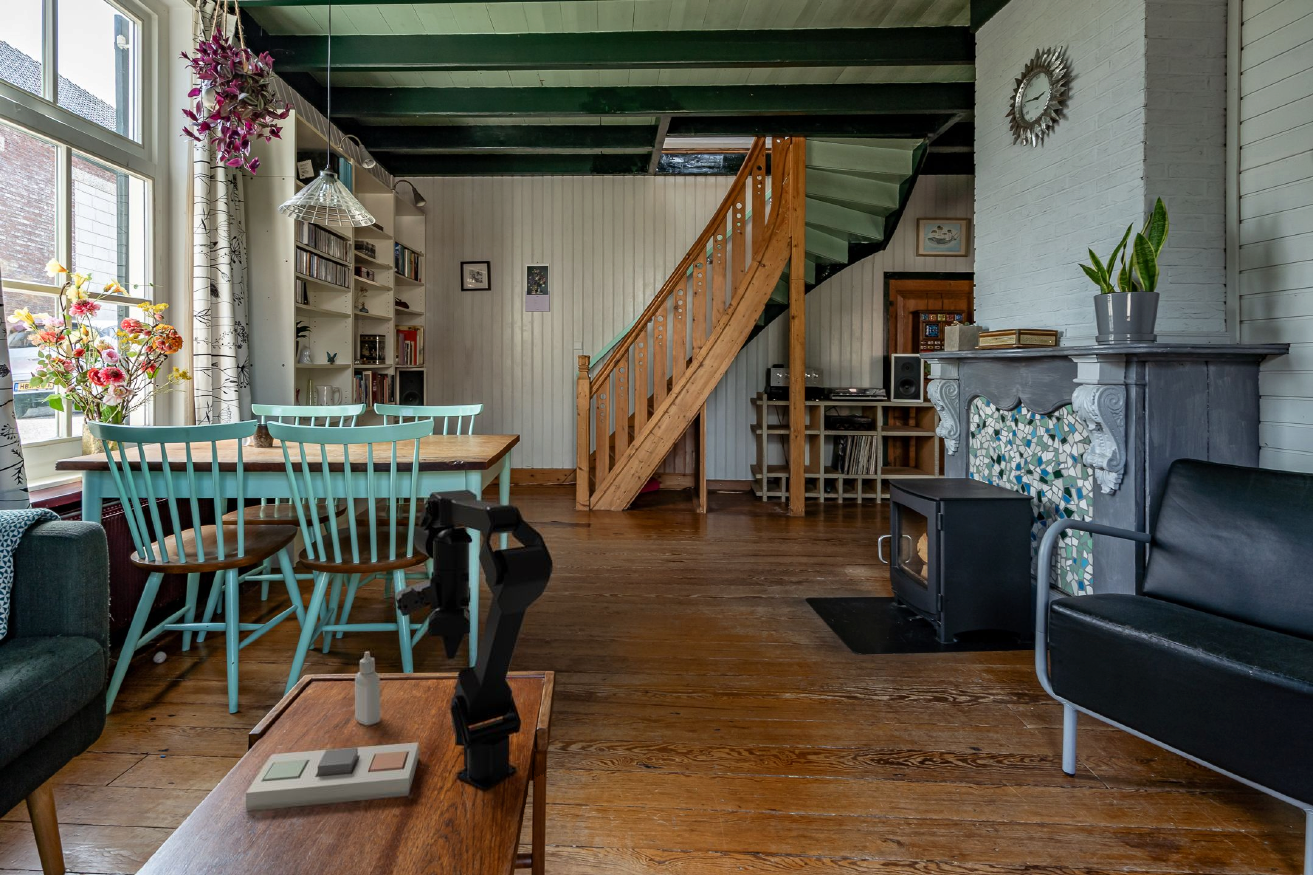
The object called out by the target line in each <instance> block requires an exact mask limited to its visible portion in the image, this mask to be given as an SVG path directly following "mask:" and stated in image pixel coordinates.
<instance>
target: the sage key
mask: <svg viewBox="0 0 1313 875" xmlns="http://www.w3.org/2000/svg"><path fill="white" fill-rule="evenodd" d="M306 766H307V759H306V760H294V761H282V762H275V763H274V764H273V766H272V767H271V769H270V770H269V772H268V773H267V775H266V776H265V778H264V781H275V780H287V779H298V778H300V777H301V775H302V773H303V771H304V770H305V768H306Z"/></svg>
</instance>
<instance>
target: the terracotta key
mask: <svg viewBox="0 0 1313 875" xmlns="http://www.w3.org/2000/svg"><path fill="white" fill-rule="evenodd" d="M406 761H407V751H403V752H391V753H379V754H376V756H375V758H374V761H373V763H372V766H371V768H370V772H378V771H389V770H400V769H404V767H405V764H406Z"/></svg>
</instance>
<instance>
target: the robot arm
mask: <svg viewBox="0 0 1313 875" xmlns="http://www.w3.org/2000/svg"><path fill="white" fill-rule="evenodd" d="M417 523H418V528H417V529H416V531H415V533H414V536H413V543H414V546H415V548H416V549H417V550H418V551H419V552H420V553H421V554H424V555H426V556H427V557H429V558H430V559H432V571H431V574H430V575H431V577H430V578H429V579H427V580H425V581H421V582H418V583H415V584H412V585H411V586H408V587H405V588H403V589H402V588H401V589H400V590H399V591H398V592H397V593H396V596H395V598H394V599H395V602H396V604H397V606H396V608H397V610H398V611H400V614H401V616H402V617H407V616H408V615H411V614H412V613H413V612H416V611H418V610H420V609H423V608H425V607H428V606H429V610H435V611H433V612H432V613H431V614H430V615H429V617H428V622H427V633H428V634H427V636H429V637H442V638H441V639H442V642H443V646H444V651H445V655H446V658H447V660H454V659H455V658H456V655H457V653H458V651H459V649H460V646H461V644H462V641H463V638H464V636H465V635H467V634H470V633H471V612H470V611H471V610H469V609H467V608H466V607H469V606H470V603H471V587H470V544H471V543H473V538H472V535H470V533H468V531H467V529H472V530H476V531H479V532H480V533H481V535H482V537H483V540H482V544H481V548H480V552H479V556H478V559H479V563H480V564H481V568H482V570H483V572H484V573H483V574H484V575H485V581H484V582H485V583H486V585H487V587H488V588H489V591H490V592H491V595H492V599H491V603H490V607H489V611H488V614H487V618H486V622H485V626H484V628H483V629H484V630H483V633H482V637H481V639H480V644H479V648H478V652H477V655H476V659H475V661H474V662H475V663H474V665H473V666H470V667H466V668H462V669H460V670H459V672H458V674H457V680H456V684H455V685H454V687H453V689H454V690H455V691H454V693H453V697H452V698H451V701H450V703H451V704H450V706H449V707H450V709H449V711H450V712H449V713H450V716H451V723H452V729H453V730H452V731H453V734H454V744H455V745H456V746H460V747H463V767H464V768H463V769H461V770H460V771H458V772H457V773H456V777H457V778H458V779H460V780H462V781H464V782H467V783H469V784H470V785H472V786H475V787H476V788H479V789H481V790H483V791H488V790H490V789H492V788H493V787H494V786H496V785H498V784H499V783H501V782H502V781H504V780H505V779H507V778H509V777H510V776H512V775H513V774H515V773H517V771H518V769H517V766H514V765H512V764H510V735H513V734H519V733H520V730H521V726H522V720H521V718H520V714H519V711H518V708H517V706H516V703H515V700H514V697H513V690H512V687H511V686H510V684H509V682H508V680H507V675H508V673H509V669H510V666H511V662H512V658H513V656H514V652H515V649H516V645H517V642H518V639H519V636H520V632H521V628H522V625H523V622H524V618H525V615H526V612H527V609H528V608H529V607H530V606H531V605H532V604H533V603H534V602H535V601H536V600H537V599H538V598H540V597H541V596H543V593H544V592H545V590H546V587H547V585H548V583H549V582H550V579H551V576H552V574H553V571H554V570H553V567H554V565H553V559H552V556H551V554H550V552H549V550H548V547H547V545H546V543H545V542H546V541H544V538H543V536H542V533H540V532H539V531H537V530H536V529H535V528H534V527H532V526H531V525H530V524H529V523H528V522H527V521H525V520H524V519H523V517H522V514H521V512H520V509H519V508H518V507H517V506H516V505H512V504H500V503H495V502H489V501H484V500H480V499H478V496H477V494H476V493H475V492H472V491H471V490H470V489H461V490H447V491H445V490H444V491H435V492H431V493H430V494H429V498H428V499H427V500H426V501H425V503H424V506H423V509H422V512H421V513H420V516H419V518H418V519H417ZM466 528H467V529H466ZM510 533H511V535H512V536H513V538H514V539H516V541H518V542H519V543H520V544H521V545H523V546H517V547H510V548H504V549H496V550H495V551H494V549H493V548H492V545H491V542H490V541H491V538H492V535H500V534H510ZM498 718H499V719H498ZM494 719H496V720H494ZM487 721H488V722H487ZM485 722H486V723H485ZM480 723H482V724H480ZM478 724H479V725H478Z"/></svg>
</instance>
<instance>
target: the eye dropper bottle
mask: <svg viewBox="0 0 1313 875" xmlns="http://www.w3.org/2000/svg"><path fill="white" fill-rule="evenodd" d="M375 660H376V658H375V657H371V654H370V651H364V655H363V658H362V659H360V660H359V671H358V672H357V673H356V674H355V676H354V716H355V720H356V721H357V722H358V723H359V724H361V725H363V726H371V725H374V724H378V723H379V722H380V721H381V680H380V676H379V674H378V673H377V671H375V669H376V663H375V662H376V661H375Z"/></svg>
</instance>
